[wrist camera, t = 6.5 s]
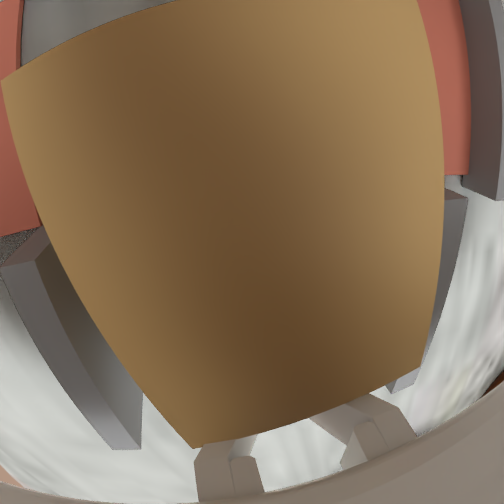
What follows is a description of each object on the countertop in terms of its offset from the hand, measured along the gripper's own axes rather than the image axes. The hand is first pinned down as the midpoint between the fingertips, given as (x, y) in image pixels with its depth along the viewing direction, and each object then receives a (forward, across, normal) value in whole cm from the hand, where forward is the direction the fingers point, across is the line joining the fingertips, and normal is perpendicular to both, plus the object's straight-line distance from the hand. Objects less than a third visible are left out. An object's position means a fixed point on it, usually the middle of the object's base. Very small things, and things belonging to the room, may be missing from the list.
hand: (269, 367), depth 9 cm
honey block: (+2, 0, -5) cm, 6 cm away
